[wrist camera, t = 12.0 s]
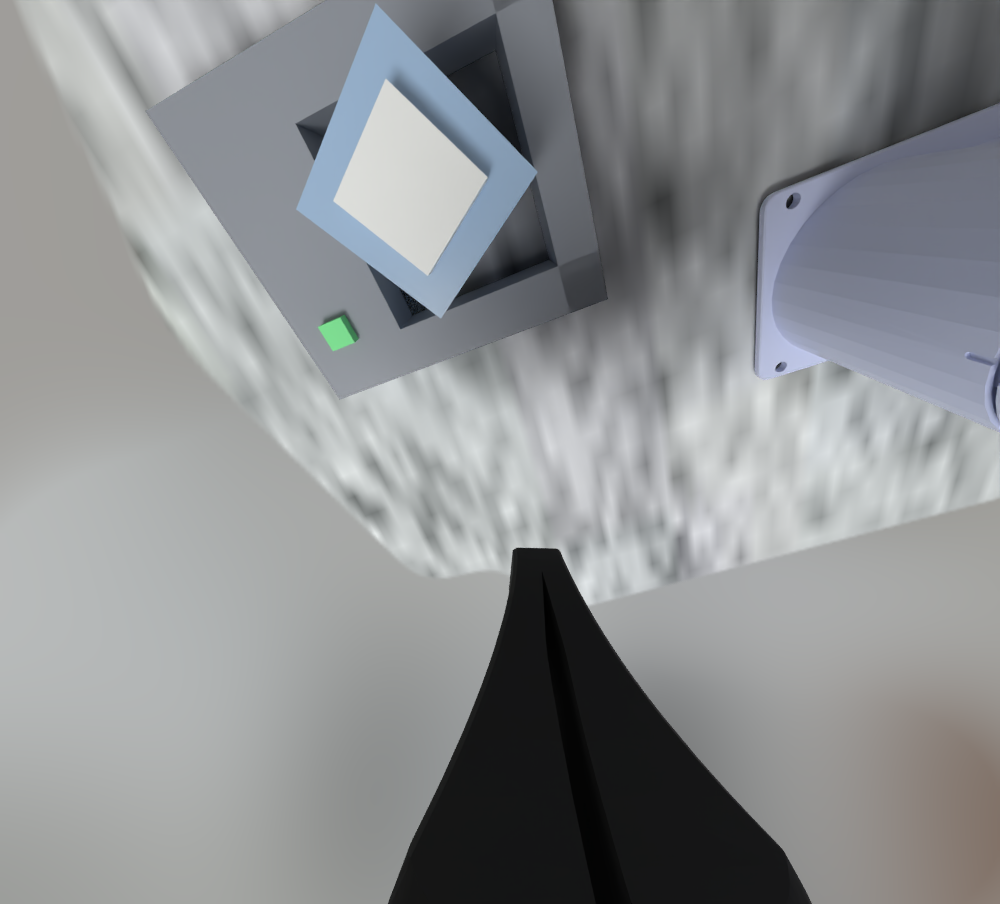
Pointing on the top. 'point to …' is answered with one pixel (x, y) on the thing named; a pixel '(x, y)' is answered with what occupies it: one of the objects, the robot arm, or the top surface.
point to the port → (295, 144)
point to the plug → (412, 170)
